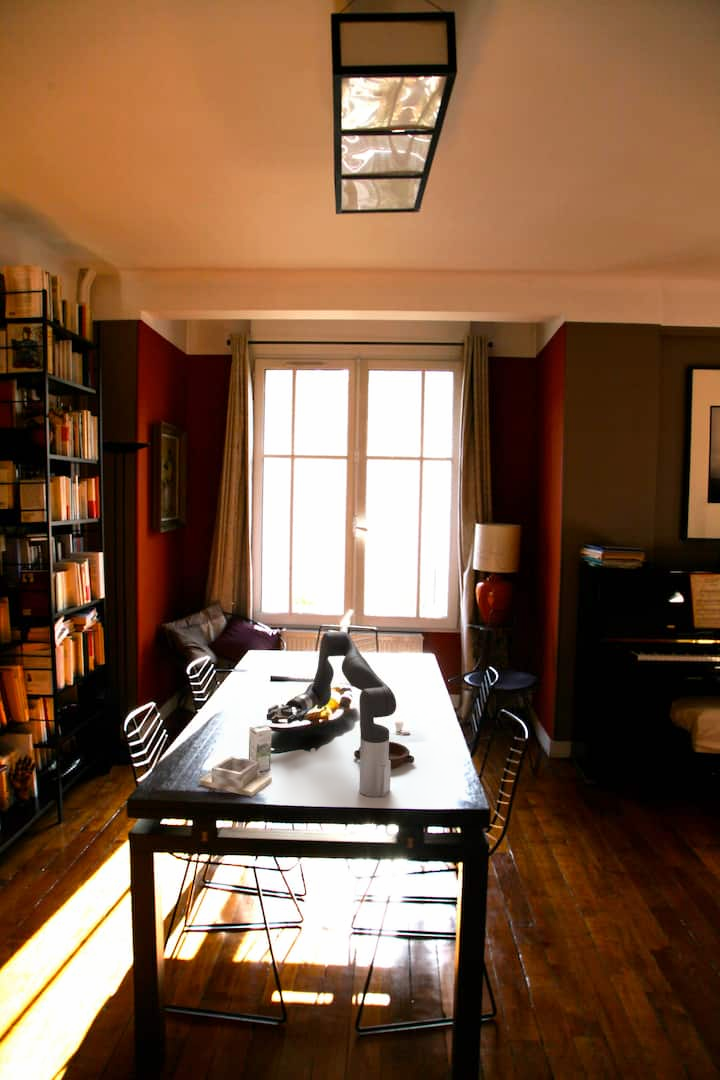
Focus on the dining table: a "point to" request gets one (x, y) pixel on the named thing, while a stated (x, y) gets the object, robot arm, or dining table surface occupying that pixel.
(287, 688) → the dining table surface
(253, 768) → the collar board
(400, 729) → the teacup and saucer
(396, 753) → the dish
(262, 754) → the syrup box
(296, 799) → the dining table surface
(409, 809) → the dining table surface
